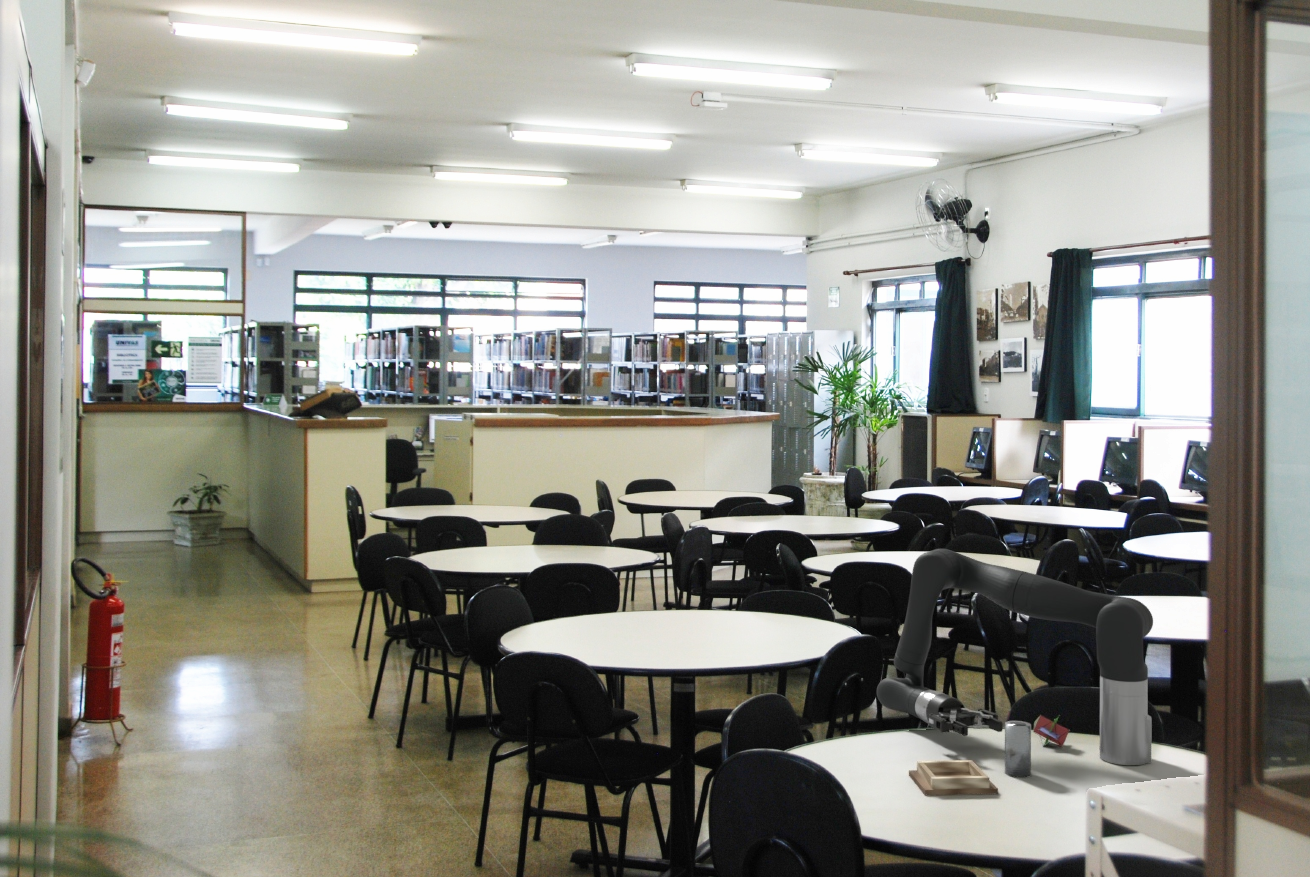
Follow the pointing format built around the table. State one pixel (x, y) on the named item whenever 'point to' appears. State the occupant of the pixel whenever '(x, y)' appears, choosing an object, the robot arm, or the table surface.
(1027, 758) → the steel tube
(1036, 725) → the geometric puzzle
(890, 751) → the table surface
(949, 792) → the wooden tray
